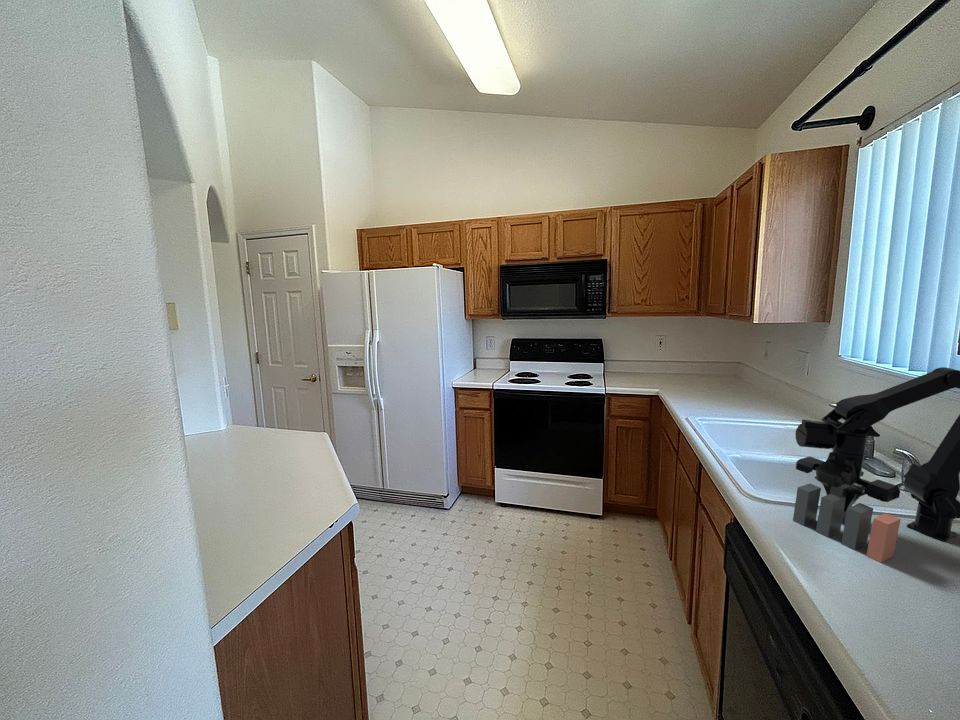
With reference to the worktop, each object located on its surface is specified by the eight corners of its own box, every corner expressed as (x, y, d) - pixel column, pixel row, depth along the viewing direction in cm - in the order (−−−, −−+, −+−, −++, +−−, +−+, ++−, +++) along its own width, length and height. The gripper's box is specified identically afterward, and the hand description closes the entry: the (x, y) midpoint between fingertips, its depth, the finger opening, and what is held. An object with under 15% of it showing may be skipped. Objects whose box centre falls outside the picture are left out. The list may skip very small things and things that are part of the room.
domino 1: (792, 520, 99) (797, 487, 98) (804, 515, 101) (809, 483, 99) (803, 525, 97) (808, 491, 95) (815, 520, 99) (821, 487, 97)
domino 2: (825, 517, 100) (831, 484, 99) (837, 513, 102) (842, 480, 101) (837, 522, 98) (842, 489, 96) (848, 518, 100) (854, 485, 98)
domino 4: (841, 543, 90) (847, 507, 88) (853, 538, 92) (859, 503, 90) (854, 550, 88) (861, 513, 86) (866, 544, 90) (873, 508, 88)
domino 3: (815, 531, 95) (821, 497, 93) (828, 526, 96) (833, 492, 95) (827, 537, 92) (833, 502, 91) (840, 532, 94) (846, 497, 93)
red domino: (866, 555, 86) (873, 518, 84) (878, 549, 88) (885, 513, 86) (880, 562, 84) (888, 524, 82) (893, 556, 86) (900, 518, 84)
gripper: (786, 442, 102) (778, 497, 105) (880, 472, 85) (868, 537, 88) (812, 435, 106) (804, 489, 109) (906, 463, 90) (894, 525, 92)
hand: (838, 508), depth 100 cm, fingers closed on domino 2, 2 cm apart
